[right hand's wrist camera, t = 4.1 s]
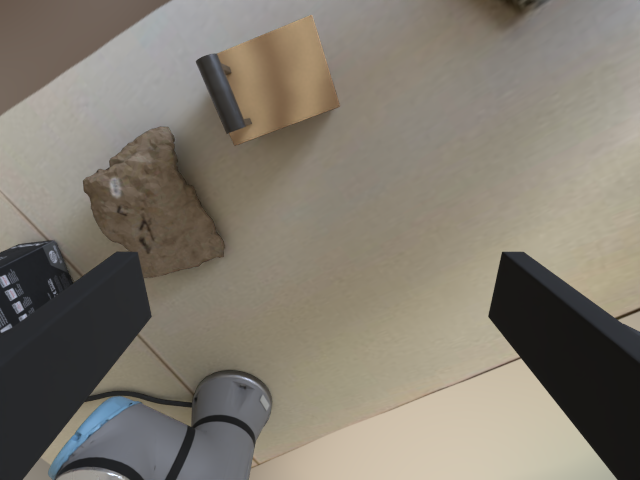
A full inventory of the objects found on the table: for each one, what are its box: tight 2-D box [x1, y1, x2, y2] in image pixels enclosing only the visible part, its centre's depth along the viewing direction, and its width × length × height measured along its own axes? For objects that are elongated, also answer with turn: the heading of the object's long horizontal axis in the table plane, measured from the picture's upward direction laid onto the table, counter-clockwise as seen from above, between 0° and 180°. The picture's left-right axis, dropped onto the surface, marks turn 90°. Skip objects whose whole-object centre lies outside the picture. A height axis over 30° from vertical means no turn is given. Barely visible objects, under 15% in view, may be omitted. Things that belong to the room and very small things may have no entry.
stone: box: [83, 127, 225, 278], centre depth 51 cm, size 21×15×6 cm
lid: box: [196, 15, 340, 146], centre depth 35 cm, size 13×10×9 cm
